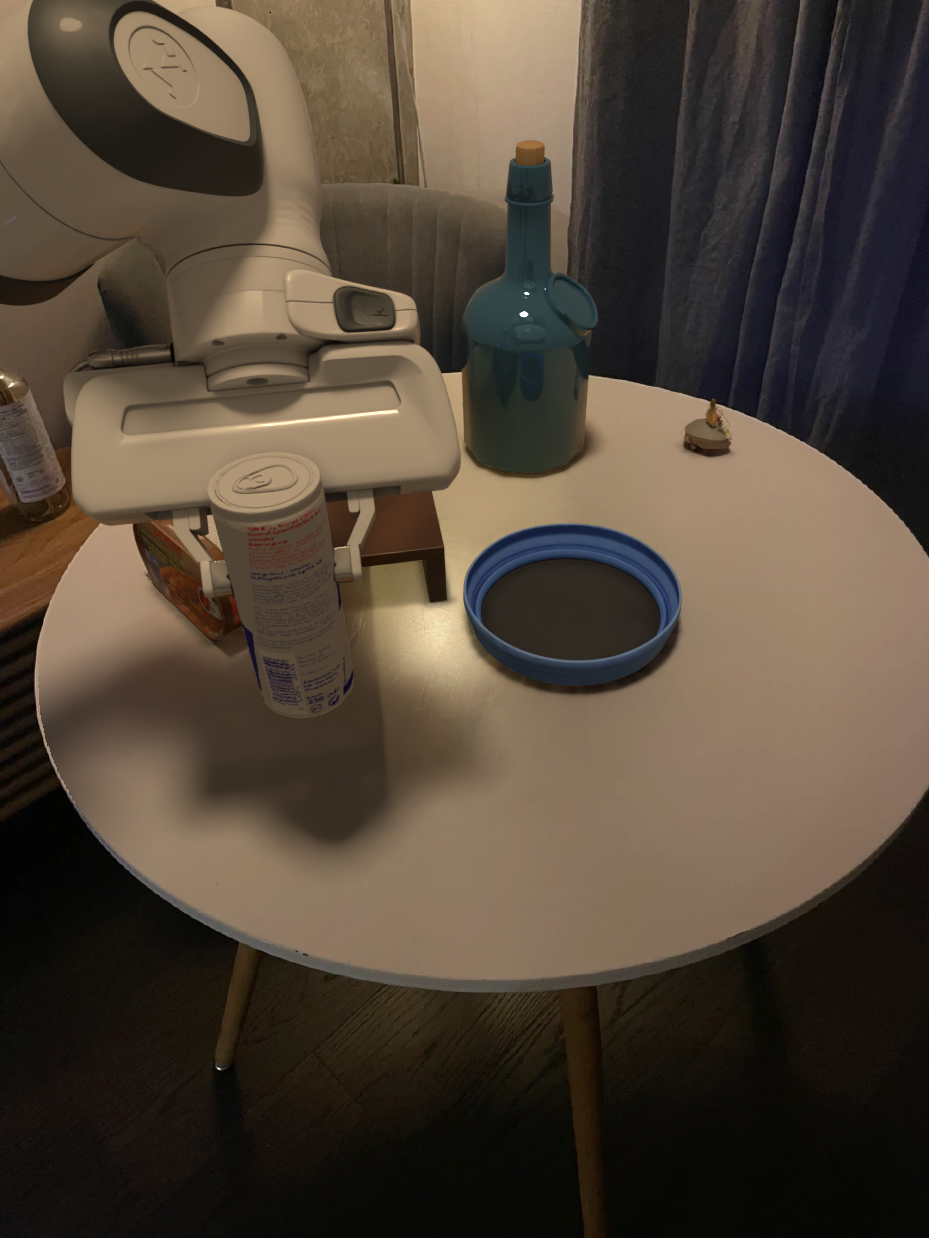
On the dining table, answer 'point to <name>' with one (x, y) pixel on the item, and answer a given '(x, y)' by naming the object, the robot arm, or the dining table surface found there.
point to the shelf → (398, 536)
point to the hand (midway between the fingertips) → (286, 588)
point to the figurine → (708, 431)
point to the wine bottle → (527, 340)
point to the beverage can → (284, 580)
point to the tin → (185, 578)
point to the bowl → (571, 603)
